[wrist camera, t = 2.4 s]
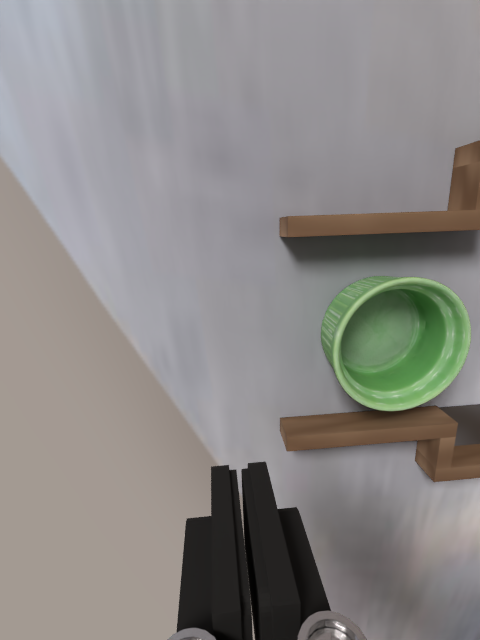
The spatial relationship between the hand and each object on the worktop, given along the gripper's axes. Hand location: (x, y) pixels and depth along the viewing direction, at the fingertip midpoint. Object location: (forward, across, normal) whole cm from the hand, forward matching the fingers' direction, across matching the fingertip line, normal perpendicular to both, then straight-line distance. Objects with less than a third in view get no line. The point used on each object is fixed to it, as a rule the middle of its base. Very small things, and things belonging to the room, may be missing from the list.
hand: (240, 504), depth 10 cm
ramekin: (+15, -11, -1) cm, 19 cm away
